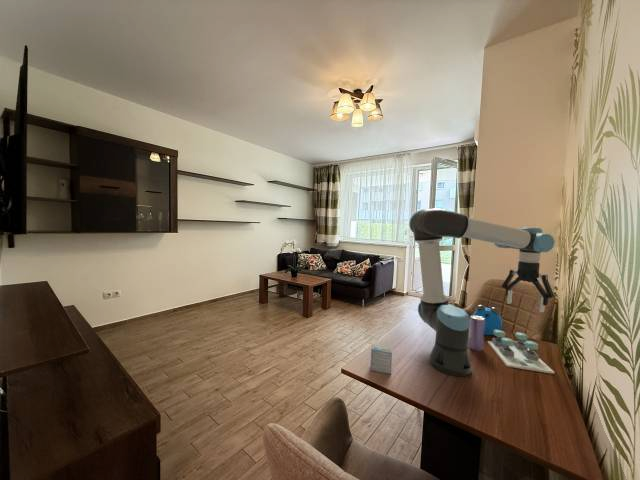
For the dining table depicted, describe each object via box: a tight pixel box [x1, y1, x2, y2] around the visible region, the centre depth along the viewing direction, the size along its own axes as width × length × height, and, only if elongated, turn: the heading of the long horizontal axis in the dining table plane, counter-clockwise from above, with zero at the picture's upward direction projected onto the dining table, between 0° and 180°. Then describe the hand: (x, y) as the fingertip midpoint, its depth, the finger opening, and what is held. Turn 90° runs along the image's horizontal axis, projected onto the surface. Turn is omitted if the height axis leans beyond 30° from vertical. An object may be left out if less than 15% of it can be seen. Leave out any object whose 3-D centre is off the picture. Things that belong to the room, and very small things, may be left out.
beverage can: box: [467, 314, 485, 352], centre depth 118 cm, size 6×6×15 cm
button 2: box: [524, 340, 539, 353], centre depth 110 cm, size 4×4×4 cm
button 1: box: [501, 337, 515, 349], centre depth 112 cm, size 4×4×4 cm
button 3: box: [494, 330, 506, 340], centre depth 121 cm, size 4×4×4 cm
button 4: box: [514, 331, 528, 343], centre depth 118 cm, size 4×4×4 cm
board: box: [487, 337, 555, 375], centre depth 112 cm, size 16×22×3 cm
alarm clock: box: [473, 304, 503, 336], centre depth 135 cm, size 13×6×15 cm, turn 53°
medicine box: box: [369, 344, 393, 375], centre depth 99 cm, size 8×4×9 cm, turn 74°
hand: (524, 307), depth 117 cm, fingers open, 12 cm apart
